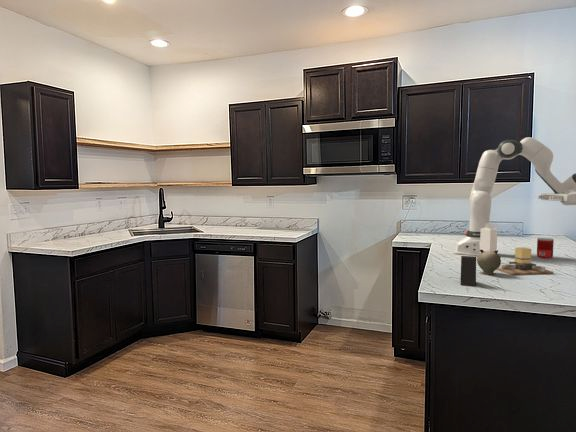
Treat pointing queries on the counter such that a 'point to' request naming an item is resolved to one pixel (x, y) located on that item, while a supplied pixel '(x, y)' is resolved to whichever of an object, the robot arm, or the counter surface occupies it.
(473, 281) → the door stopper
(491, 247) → the milk
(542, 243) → the canned food
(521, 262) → the coupler
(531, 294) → the counter surface
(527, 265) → the coupling board
